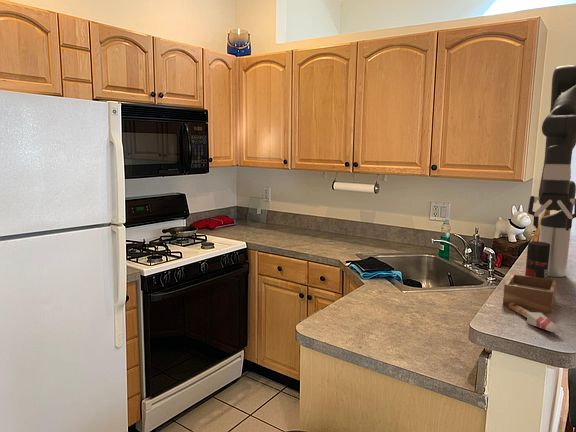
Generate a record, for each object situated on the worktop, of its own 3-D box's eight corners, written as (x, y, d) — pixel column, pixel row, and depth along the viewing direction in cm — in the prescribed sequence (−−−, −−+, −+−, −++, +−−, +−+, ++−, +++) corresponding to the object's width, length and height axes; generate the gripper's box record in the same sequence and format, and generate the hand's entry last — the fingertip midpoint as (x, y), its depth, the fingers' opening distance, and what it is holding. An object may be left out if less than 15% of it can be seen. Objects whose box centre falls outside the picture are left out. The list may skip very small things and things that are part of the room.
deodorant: (526, 286, 142) (530, 240, 140) (547, 290, 138) (552, 243, 136) (521, 290, 138) (526, 243, 135) (543, 294, 134) (548, 246, 132)
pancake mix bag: (552, 255, 187) (559, 189, 183) (545, 264, 172) (552, 192, 168) (534, 253, 191) (540, 188, 187) (526, 261, 176) (532, 191, 172)
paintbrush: (549, 325, 102) (505, 300, 122) (548, 337, 102) (504, 310, 122) (566, 325, 102) (519, 300, 122) (565, 337, 102) (518, 310, 122)
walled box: (510, 292, 136) (512, 273, 135) (554, 300, 129) (556, 280, 128) (502, 305, 124) (504, 284, 123) (550, 314, 118) (552, 292, 117)
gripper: (581, 179, 142) (576, 230, 143) (530, 177, 148) (526, 226, 150) (584, 179, 135) (579, 232, 137) (531, 178, 141) (526, 228, 143)
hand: (551, 229), depth 143 cm, fingers open, 8 cm apart
